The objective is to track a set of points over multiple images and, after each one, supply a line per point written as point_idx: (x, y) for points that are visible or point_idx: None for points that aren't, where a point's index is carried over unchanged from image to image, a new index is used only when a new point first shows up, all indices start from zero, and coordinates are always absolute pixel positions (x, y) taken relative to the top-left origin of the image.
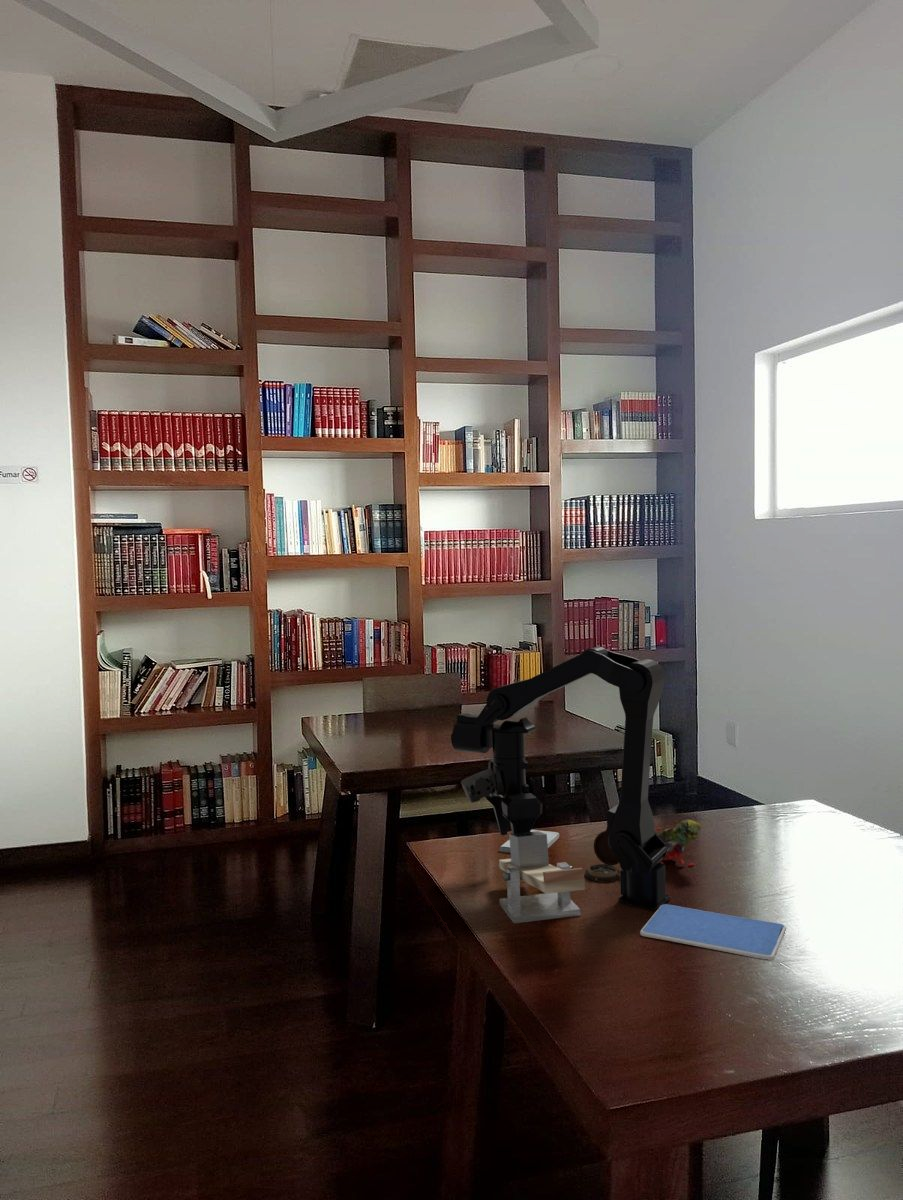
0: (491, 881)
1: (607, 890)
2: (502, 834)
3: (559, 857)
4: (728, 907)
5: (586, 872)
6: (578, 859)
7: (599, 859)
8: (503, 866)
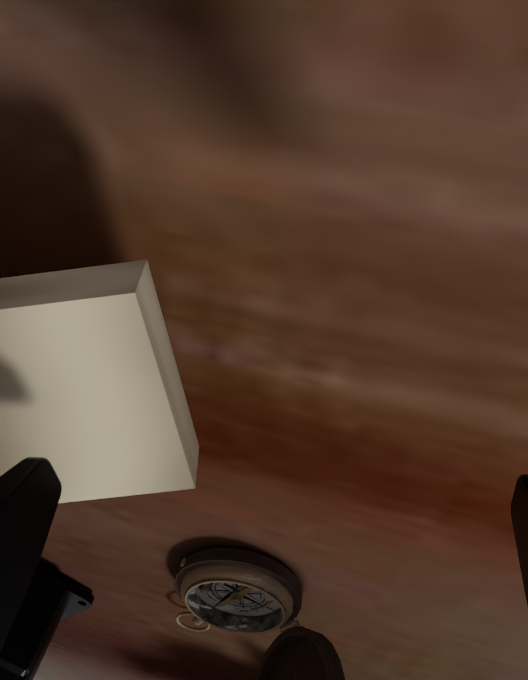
0: (255, 169)
1: (103, 549)
2: (517, 486)
3: (512, 550)
4: None
5: (238, 564)
6: (449, 586)
7: (312, 634)
8: (14, 291)
